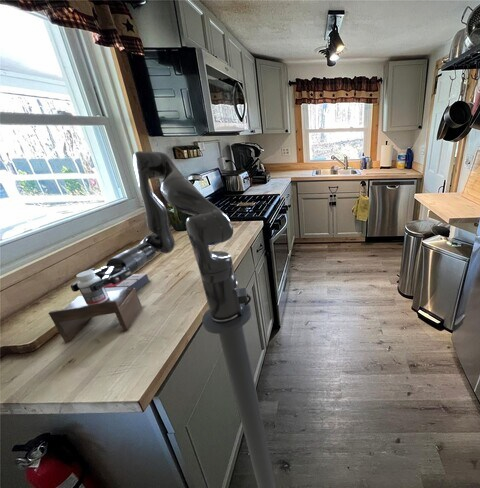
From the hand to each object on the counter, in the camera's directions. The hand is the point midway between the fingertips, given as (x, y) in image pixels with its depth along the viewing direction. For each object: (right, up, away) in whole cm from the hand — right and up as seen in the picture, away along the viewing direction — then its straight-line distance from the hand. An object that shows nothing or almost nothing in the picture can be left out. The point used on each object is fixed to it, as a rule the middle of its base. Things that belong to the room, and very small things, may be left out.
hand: (82, 289), depth 74 cm
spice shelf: (+1, -12, +7) cm, 14 cm away
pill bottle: (0, -5, +5) cm, 7 cm away
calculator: (-7, -5, +25) cm, 26 cm away
